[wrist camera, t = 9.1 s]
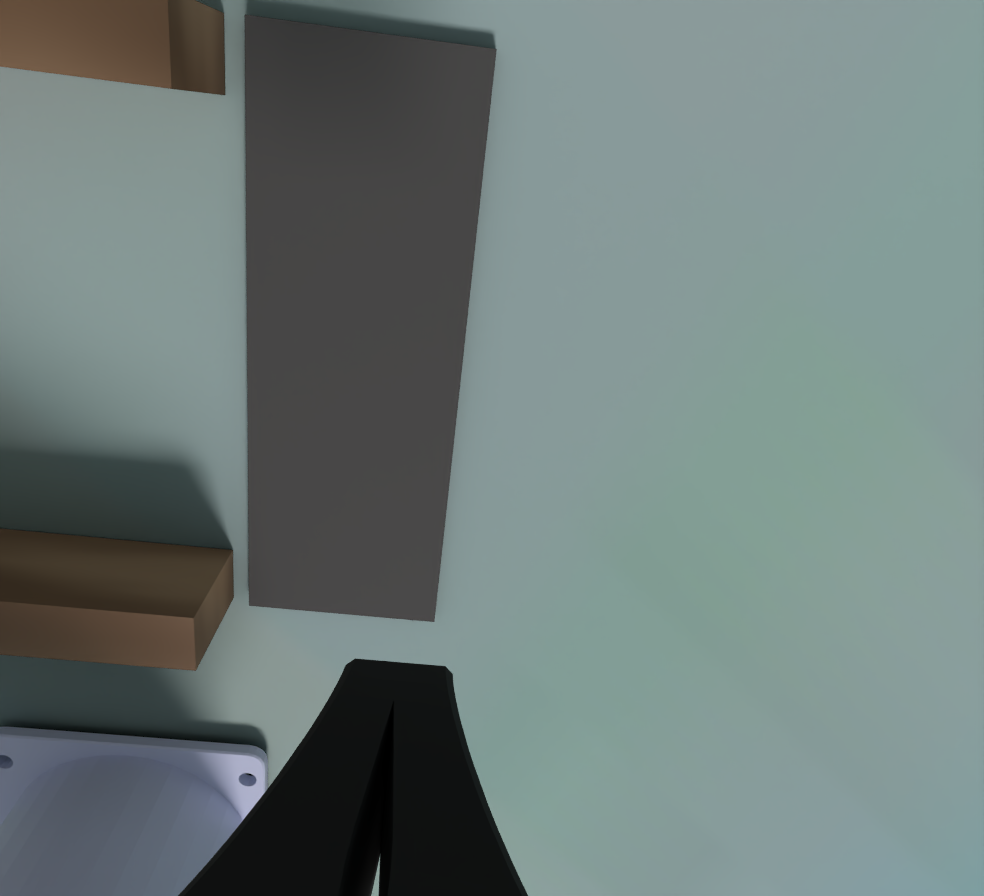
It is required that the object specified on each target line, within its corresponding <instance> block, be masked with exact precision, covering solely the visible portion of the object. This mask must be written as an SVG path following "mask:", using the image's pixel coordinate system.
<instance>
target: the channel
mask: <svg viewBox="0 0 984 896" xmlns="http://www.w3.org/2000/svg"><path fill="white" fill-rule="evenodd" d="M0 66H1V67H9V68H17V69H25V70H32V71H40V72H48V73H55V74H63V75H71V76H78V77H86V78H94V79H101V80H109V81H117V82H124V83H132V84H140V85H147V86H155V87H163V88H170V89H178V90H187V91H195V92H203V93H211V94H220V95H225V54H224V13H222V12H220V11H218V10H215V9H213V8H211V7H209V6H207V5H204V4H202V3H200V2H198V1H195V0H0ZM233 598H234V591H233V550H226V549H216V548H205V547H194V546H183V545H172V544H162V543H151V542H140V541H129V540H118V539H108V538H97V537H86V536H75V535H64V534H54V533H43V532H32V531H21V530H11V529H0V655H12V656H24V657H37V658H49V659H61V660H73V661H85V662H97V663H109V664H121V665H134V666H146V667H158V668H170V669H182V670H194V671H196V669H197V667H198V665H199V664H200V662H201V660H202V658H203V656H204V654H205V652H206V650H207V648H208V646H209V644H210V642H211V640H212V638H213V636H214V634H215V633H216V631H217V629H218V627H219V625H220V623H221V621H222V619H223V617H224V615H225V613H226V611H227V609H228V607H229V605H230V603H231V602H232V600H233Z"/></svg>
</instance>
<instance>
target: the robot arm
mask: <svg viewBox="0 0 984 896" xmlns="http://www.w3.org/2000/svg"><path fill="white" fill-rule="evenodd" d="M7 756H8V757H7ZM245 773H249V774H252V775H254V776H250V775H247V774H245ZM379 857H380V876H379V896H528V895H527V893H526V891H525V889H524V886H523V884H522V882H521V880H520V878H519V876H518V874H517V872H516V869H515V867H514V865H513V863H512V861H511V858H510V856H509V854H508V851H507V849H506V847H505V845H504V842H503V840H502V838H501V835H500V833H499V831H498V828H497V826H496V823H495V821H494V818H493V816H492V813H491V811H490V808H489V806H488V803H487V801H486V798H485V795H484V792H483V789H482V787H481V784H480V781H479V778H478V775H477V773H476V770H475V767H474V764H473V761H472V758H471V755H470V752H469V749H468V746H467V742H466V739H465V735H464V731H463V728H462V724H461V721H460V716H459V712H458V708H457V703H456V698H455V692H454V686H453V674H452V673H451V672H450V671H449V670H448V669H447V668H446V666H435V665H424V664H412V663H400V662H388V661H376V660H364V659H354V660H352V661H351V662H350V663H348V664H347V665H346V666H345V668H344V671H343V673H342V675H341V677H340V679H339V681H338V683H337V685H336V687H335V688H334V690H333V692H332V694H331V696H330V697H329V699H328V701H327V703H326V704H325V706H324V708H323V709H322V711H321V712H320V714H319V716H318V717H317V719H316V720H315V722H314V723H313V725H312V727H311V728H310V730H309V731H308V733H307V734H306V736H305V737H304V739H303V740H302V742H301V743H300V744H299V746H298V747H297V749H296V750H295V752H294V753H293V754H292V756H291V757H290V759H289V760H288V762H287V763H286V764H285V766H284V767H283V769H282V770H281V772H280V773H279V774H278V776H277V777H276V779H275V780H274V781H273V783H272V784H271V785H270V787H269V788H268V759H267V755H266V753H265V752H264V751H263V750H262V749H260V748H259V747H257V746H252V745H241V744H228V743H215V742H202V741H189V740H176V739H163V738H150V737H137V736H124V735H111V734H98V733H85V732H72V731H59V730H46V729H33V728H20V727H0V896H371V894H372V889H373V885H374V880H375V876H376V871H377V866H378V862H379Z"/></svg>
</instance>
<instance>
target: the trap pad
mask: <svg viewBox="0 0 984 896" xmlns="http://www.w3.org/2000/svg"><path fill="white" fill-rule="evenodd" d="M495 58H496V49H492V48H484V47H477V46H470V45H462V44H455V43H448V42H441V41H433V40H426V39H419V38H411V37H404V36H397V35H390V34H382V33H375V32H368V31H360V30H353V29H346V28H339V27H331V26H324V25H317V24H309V23H302V22H295V21H288V20H280V19H273V18H266V17H258V16H251V15H245V104H246V242H247V380H248V519H249V606H260V607H271V608H283V609H294V610H305V611H317V612H328V613H339V614H351V615H362V616H373V617H385V618H396V619H407V620H419V621H430V622H434V619H435V610H436V601H437V592H438V583H439V573H440V564H441V555H442V546H443V537H444V527H445V518H446V509H447V500H448V491H449V481H450V472H451V463H452V454H453V445H454V435H455V426H456V417H457V408H458V399H459V389H460V380H461V371H462V362H463V352H464V343H465V334H466V325H467V316H468V306H469V297H470V288H471V279H472V270H473V260H474V251H475V242H476V233H477V224H478V214H479V205H480V196H481V187H482V178H483V168H484V159H485V150H486V141H487V131H488V122H489V113H490V104H491V95H492V85H493V76H494V67H495Z"/></svg>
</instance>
